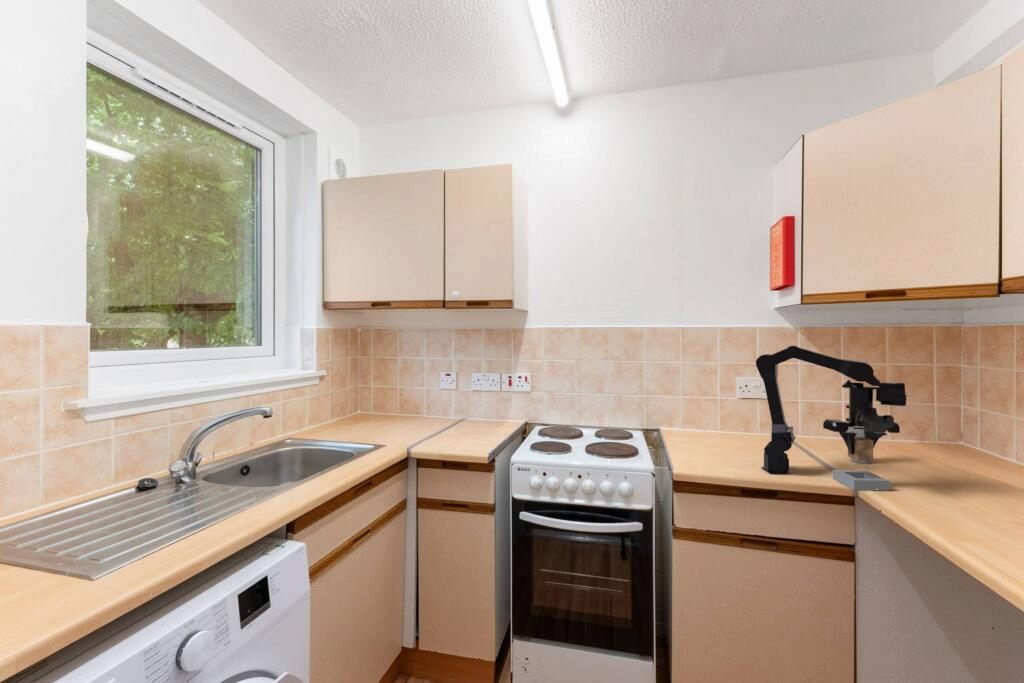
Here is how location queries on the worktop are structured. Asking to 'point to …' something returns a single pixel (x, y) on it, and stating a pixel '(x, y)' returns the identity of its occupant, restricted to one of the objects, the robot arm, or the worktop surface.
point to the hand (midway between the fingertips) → (860, 454)
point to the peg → (862, 449)
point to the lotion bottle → (861, 434)
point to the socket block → (861, 480)
